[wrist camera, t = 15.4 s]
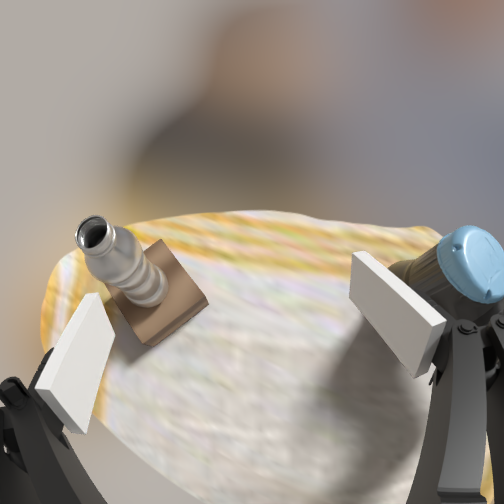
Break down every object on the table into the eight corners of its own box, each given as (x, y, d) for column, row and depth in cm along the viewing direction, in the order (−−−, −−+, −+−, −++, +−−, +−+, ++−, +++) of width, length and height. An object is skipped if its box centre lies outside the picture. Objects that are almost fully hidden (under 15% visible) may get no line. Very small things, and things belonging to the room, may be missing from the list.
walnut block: (209, 304, 47) (205, 295, 41) (153, 346, 44) (142, 343, 38) (168, 252, 50) (161, 238, 45) (117, 291, 47) (103, 282, 41)
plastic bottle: (172, 309, 40) (120, 263, 22) (129, 311, 40) (57, 267, 21) (171, 268, 43) (128, 197, 24) (131, 270, 42) (69, 206, 24)
